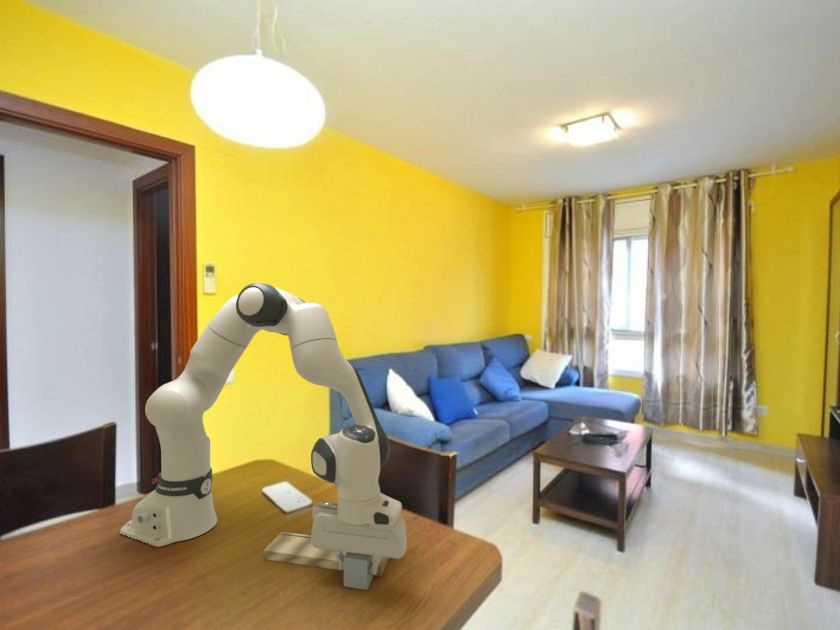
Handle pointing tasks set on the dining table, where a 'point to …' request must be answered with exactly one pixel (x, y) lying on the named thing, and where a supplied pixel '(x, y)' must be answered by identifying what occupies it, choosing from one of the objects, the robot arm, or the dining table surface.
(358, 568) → the grey mallet
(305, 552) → the board
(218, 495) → the dining table surface
